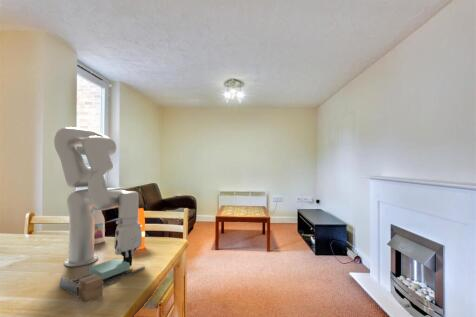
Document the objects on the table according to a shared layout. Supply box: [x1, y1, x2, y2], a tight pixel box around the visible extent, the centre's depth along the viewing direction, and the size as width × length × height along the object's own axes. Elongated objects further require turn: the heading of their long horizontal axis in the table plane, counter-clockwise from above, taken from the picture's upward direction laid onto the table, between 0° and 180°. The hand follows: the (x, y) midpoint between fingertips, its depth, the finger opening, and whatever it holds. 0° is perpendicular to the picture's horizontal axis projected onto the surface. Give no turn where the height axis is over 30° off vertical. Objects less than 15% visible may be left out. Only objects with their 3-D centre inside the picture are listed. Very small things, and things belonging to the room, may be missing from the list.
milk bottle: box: [91, 209, 106, 245], centre depth 137 cm, size 8×8×20 cm
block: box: [78, 274, 104, 304], centre depth 80 cm, size 5×5×6 cm
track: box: [59, 266, 146, 297], centre depth 95 cm, size 12×26×3 cm, turn 147°
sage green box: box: [88, 258, 131, 282], centre depth 96 cm, size 9×11×4 cm
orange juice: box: [135, 207, 146, 251], centre depth 128 cm, size 8×9×20 cm
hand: (127, 265), depth 102 cm, fingers closed
